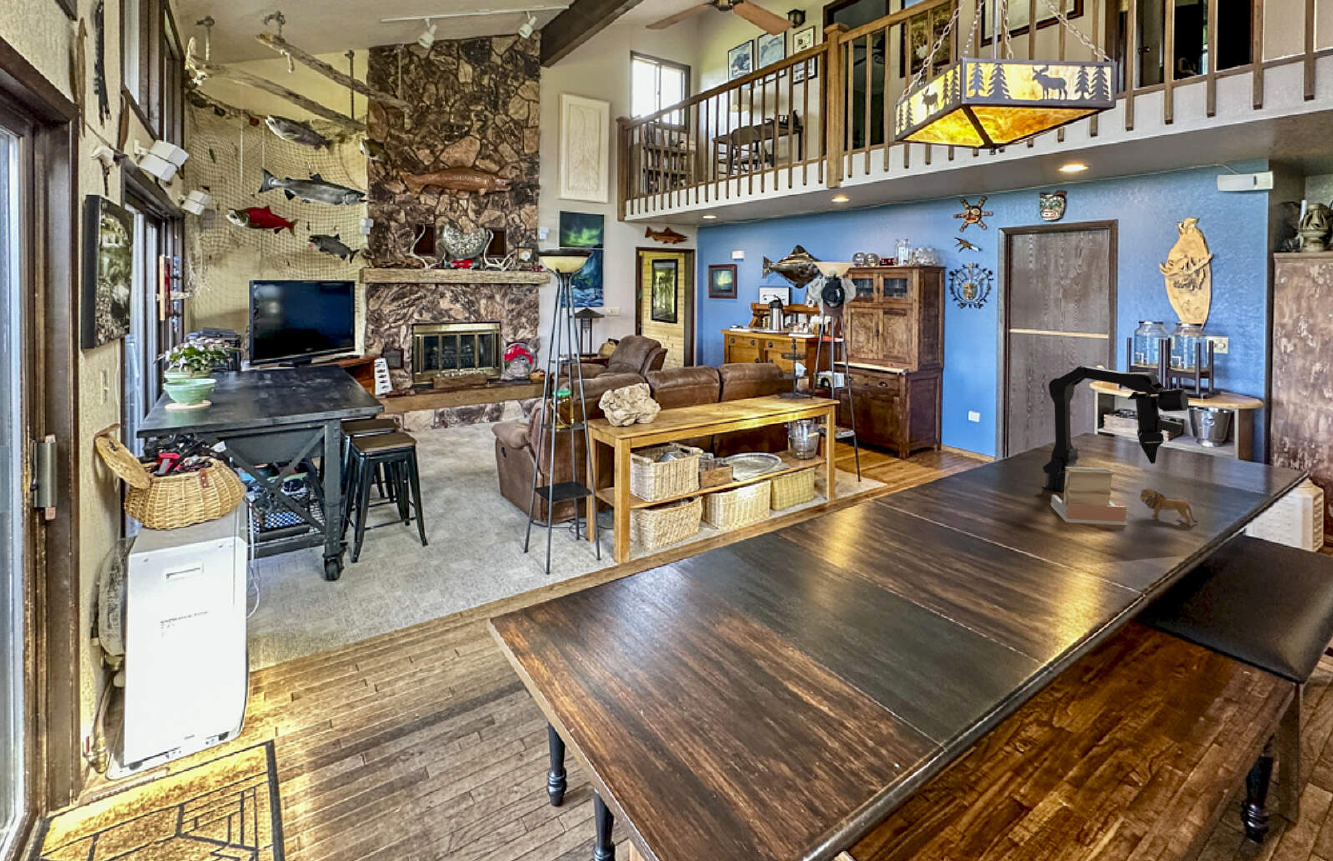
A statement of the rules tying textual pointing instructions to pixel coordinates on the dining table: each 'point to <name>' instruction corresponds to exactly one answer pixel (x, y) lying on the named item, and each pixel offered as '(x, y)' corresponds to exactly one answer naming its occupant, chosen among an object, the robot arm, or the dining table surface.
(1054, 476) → the robot arm
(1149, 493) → the lion figurine
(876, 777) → the dining table surface
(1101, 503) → the cream flanged block
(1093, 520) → the box
